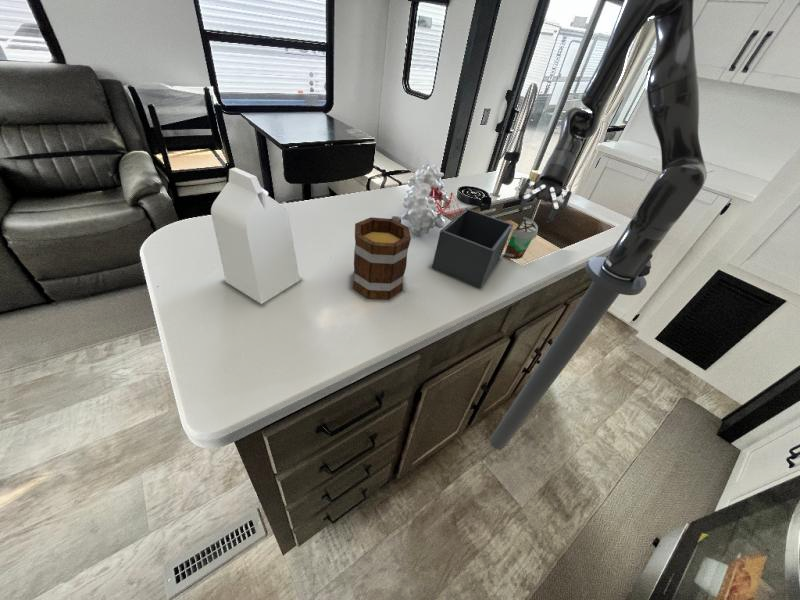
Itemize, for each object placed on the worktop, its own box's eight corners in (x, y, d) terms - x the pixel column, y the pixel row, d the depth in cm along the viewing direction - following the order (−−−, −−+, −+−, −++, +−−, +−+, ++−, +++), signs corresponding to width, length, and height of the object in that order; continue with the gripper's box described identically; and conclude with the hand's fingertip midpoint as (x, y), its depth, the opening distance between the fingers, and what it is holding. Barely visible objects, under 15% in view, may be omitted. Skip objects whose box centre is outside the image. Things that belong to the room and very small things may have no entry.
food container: (521, 266, 97) (534, 237, 90) (501, 258, 99) (513, 229, 92) (531, 250, 105) (543, 222, 99) (513, 243, 107) (524, 215, 101)
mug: (394, 306, 76) (402, 253, 66) (342, 290, 78) (342, 236, 68) (415, 264, 91) (424, 215, 81) (371, 251, 93) (374, 202, 83)
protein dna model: (449, 246, 115) (436, 184, 120) (476, 222, 98) (459, 151, 103) (397, 248, 108) (386, 182, 113) (417, 222, 91) (402, 147, 97)
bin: (499, 258, 99) (513, 224, 91) (479, 288, 86) (493, 251, 78) (456, 241, 103) (466, 207, 96) (431, 267, 90) (440, 230, 83)
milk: (226, 282, 75) (193, 170, 58) (265, 261, 83) (247, 157, 66) (261, 304, 71) (237, 191, 54) (299, 280, 79) (289, 174, 62)
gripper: (535, 156, 97) (512, 203, 97) (584, 170, 93) (559, 219, 92) (532, 170, 104) (510, 214, 104) (577, 183, 100) (554, 229, 99)
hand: (533, 216), depth 98 cm, fingers open, 8 cm apart
